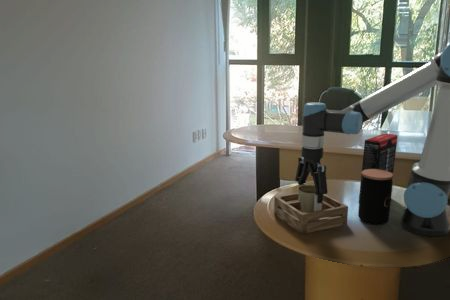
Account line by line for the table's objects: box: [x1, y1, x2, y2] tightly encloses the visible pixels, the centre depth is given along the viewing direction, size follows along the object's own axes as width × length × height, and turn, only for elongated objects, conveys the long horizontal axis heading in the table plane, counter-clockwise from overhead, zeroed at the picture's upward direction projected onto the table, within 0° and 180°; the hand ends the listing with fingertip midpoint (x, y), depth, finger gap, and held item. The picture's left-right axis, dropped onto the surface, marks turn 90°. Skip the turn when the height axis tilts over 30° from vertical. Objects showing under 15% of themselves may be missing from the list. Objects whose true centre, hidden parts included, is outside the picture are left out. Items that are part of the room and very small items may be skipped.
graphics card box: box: [358, 133, 399, 199], centre depth 160 cm, size 17×7×27 cm, turn 136°
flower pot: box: [297, 184, 316, 213], centre depth 145 cm, size 9×9×9 cm
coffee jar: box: [357, 169, 394, 226], centre depth 143 cm, size 11×11×18 cm
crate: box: [273, 192, 349, 235], centre depth 146 cm, size 19×19×7 cm
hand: (309, 205), depth 145 cm, fingers closed on flower pot, 9 cm apart
